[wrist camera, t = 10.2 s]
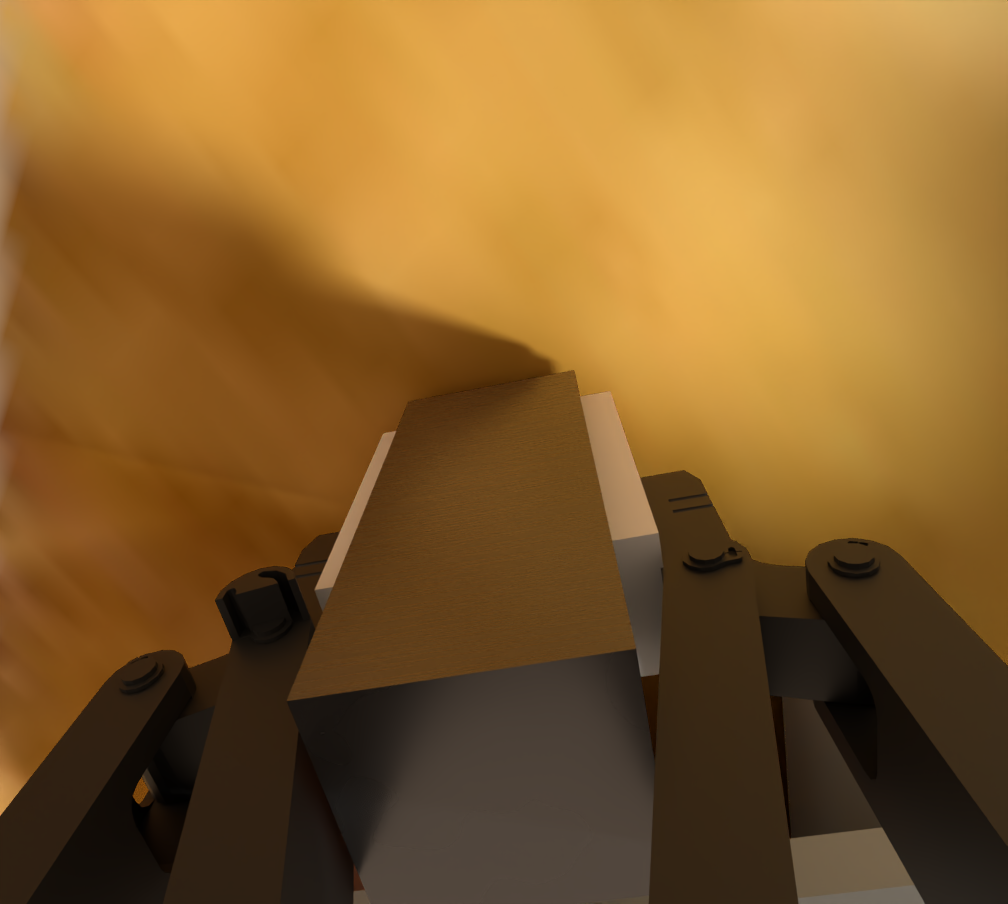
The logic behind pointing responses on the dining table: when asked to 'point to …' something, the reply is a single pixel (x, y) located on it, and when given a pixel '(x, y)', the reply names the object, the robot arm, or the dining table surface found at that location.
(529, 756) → the grey block with rod
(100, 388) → the dining table surface
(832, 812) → the cubby
